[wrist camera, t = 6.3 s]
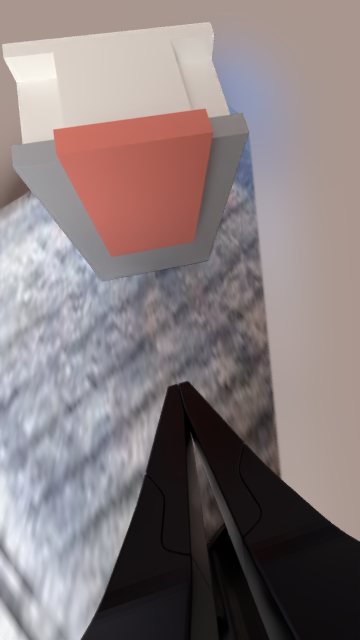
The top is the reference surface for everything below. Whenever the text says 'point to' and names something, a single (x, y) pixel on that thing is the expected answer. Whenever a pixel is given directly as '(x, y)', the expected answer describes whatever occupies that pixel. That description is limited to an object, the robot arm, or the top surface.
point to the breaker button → (139, 177)
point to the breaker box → (120, 104)
